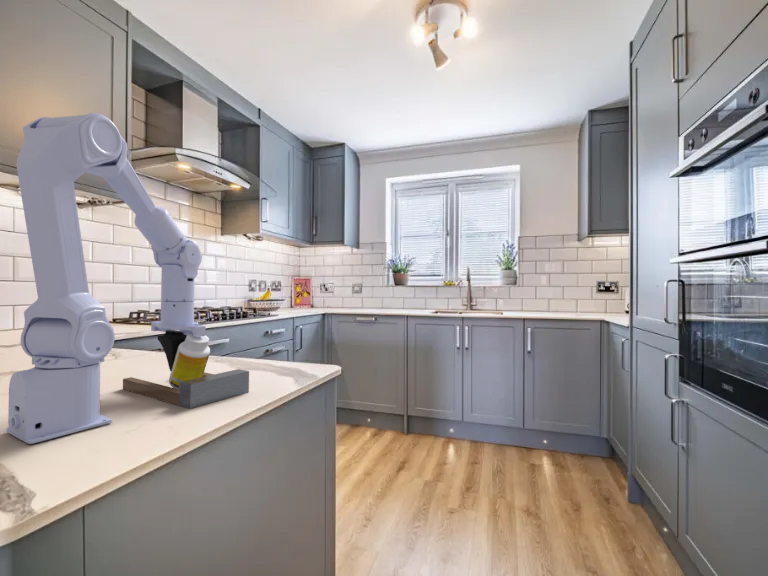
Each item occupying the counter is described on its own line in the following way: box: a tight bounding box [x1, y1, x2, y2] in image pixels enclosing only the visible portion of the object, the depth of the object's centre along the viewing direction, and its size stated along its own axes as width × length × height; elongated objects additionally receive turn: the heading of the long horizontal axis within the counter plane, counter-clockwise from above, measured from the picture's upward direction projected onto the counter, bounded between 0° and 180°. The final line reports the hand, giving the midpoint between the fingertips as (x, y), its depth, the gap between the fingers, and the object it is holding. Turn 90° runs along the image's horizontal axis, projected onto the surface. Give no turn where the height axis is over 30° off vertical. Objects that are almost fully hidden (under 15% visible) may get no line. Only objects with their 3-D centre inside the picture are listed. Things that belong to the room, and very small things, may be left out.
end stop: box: [178, 368, 250, 409], centre depth 69 cm, size 12×3×4 cm, turn 150°
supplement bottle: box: [168, 333, 211, 390], centre depth 73 cm, size 6×6×10 cm
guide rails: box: [122, 371, 215, 406], centre depth 74 cm, size 12×18×2 cm, turn 60°
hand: (176, 370), depth 75 cm, fingers closed
